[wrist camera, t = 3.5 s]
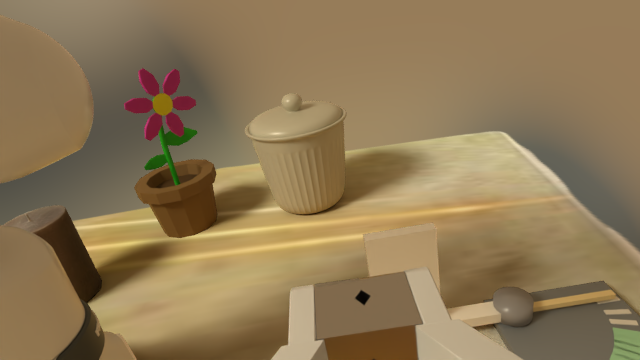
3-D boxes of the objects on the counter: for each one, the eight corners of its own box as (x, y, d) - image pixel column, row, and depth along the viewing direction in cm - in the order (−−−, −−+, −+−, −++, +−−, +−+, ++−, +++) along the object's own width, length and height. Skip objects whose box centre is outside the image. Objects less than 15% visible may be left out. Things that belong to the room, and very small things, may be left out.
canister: (278, 238, 71) (249, 119, 62) (256, 196, 87) (230, 97, 78) (374, 205, 76) (359, 90, 67) (337, 171, 91) (321, 75, 83)
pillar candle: (113, 285, 67) (74, 202, 61) (50, 326, 60) (-1, 238, 54) (85, 270, 73) (46, 193, 66) (24, 306, 66) (-25, 224, 60)
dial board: (546, 416, 37) (547, 408, 37) (483, 306, 50) (483, 299, 49) (707, 391, 37) (709, 383, 36) (602, 287, 50) (603, 280, 49)
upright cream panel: (381, 349, 45) (367, 249, 40) (375, 321, 49) (361, 227, 43) (625, 309, 44) (645, 202, 39) (600, 285, 48) (615, 183, 43)
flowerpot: (182, 252, 72) (117, 78, 60) (139, 233, 81) (74, 78, 68) (243, 212, 82) (198, 55, 69) (198, 199, 91) (152, 57, 78)
